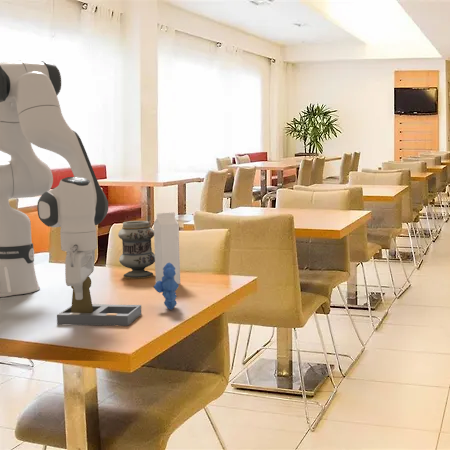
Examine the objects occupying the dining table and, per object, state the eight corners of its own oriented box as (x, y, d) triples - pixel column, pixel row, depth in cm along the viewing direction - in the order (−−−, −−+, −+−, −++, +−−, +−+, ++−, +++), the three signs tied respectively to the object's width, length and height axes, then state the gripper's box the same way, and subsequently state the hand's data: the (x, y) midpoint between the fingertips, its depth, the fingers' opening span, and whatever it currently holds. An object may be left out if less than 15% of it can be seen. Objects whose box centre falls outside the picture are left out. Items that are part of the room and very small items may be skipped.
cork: (89, 322, 186) (87, 278, 185) (66, 321, 187) (64, 277, 186) (98, 316, 192) (96, 273, 191) (75, 315, 193) (73, 273, 192)
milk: (155, 283, 235) (152, 212, 233) (173, 280, 238) (170, 211, 236) (162, 286, 230) (159, 214, 227) (181, 283, 233) (178, 212, 230)
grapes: (154, 304, 205) (152, 260, 203) (178, 303, 205) (177, 259, 204) (154, 313, 193) (152, 267, 192) (180, 312, 194) (179, 266, 193)
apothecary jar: (137, 271, 256) (135, 219, 254) (164, 274, 249) (162, 220, 247) (112, 277, 247) (109, 222, 244) (139, 280, 240) (137, 224, 237)
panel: (57, 324, 185) (56, 314, 184) (74, 313, 196) (74, 303, 196) (128, 325, 182) (127, 315, 181) (141, 314, 193) (141, 304, 193)
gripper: (84, 248, 177) (86, 305, 179) (97, 236, 197) (100, 288, 199) (57, 248, 177) (60, 306, 179) (73, 237, 197) (76, 289, 199)
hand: (81, 297), depth 189 cm, fingers closed on cork, 4 cm apart
